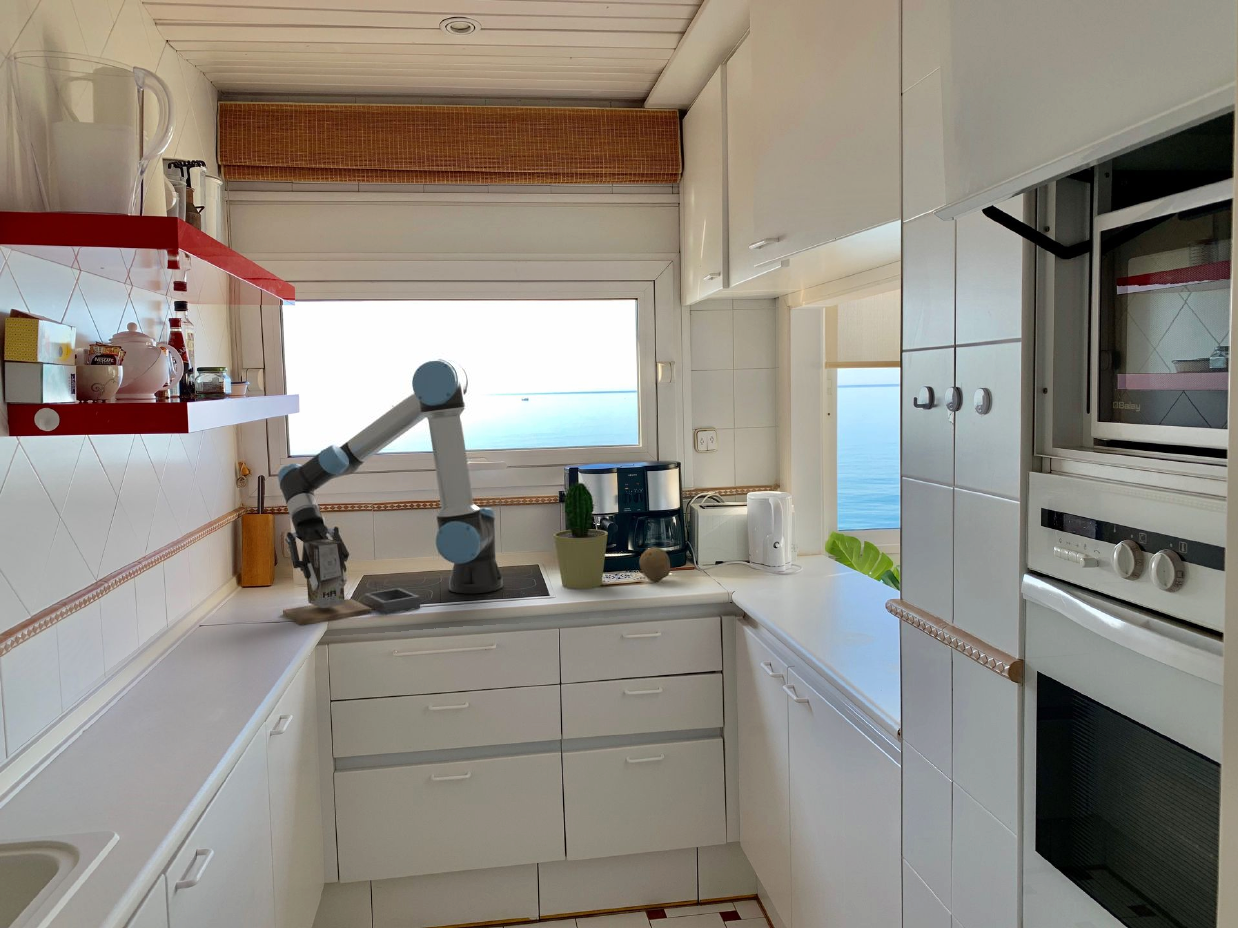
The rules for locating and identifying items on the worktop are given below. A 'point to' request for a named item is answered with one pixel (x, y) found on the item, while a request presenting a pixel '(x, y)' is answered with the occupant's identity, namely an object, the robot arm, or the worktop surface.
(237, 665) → the worktop surface
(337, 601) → the coffee box
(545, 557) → the worktop surface
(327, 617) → the board
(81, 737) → the worktop surface
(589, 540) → the potted cactus
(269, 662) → the worktop surface
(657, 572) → the coconut
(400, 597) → the holder
